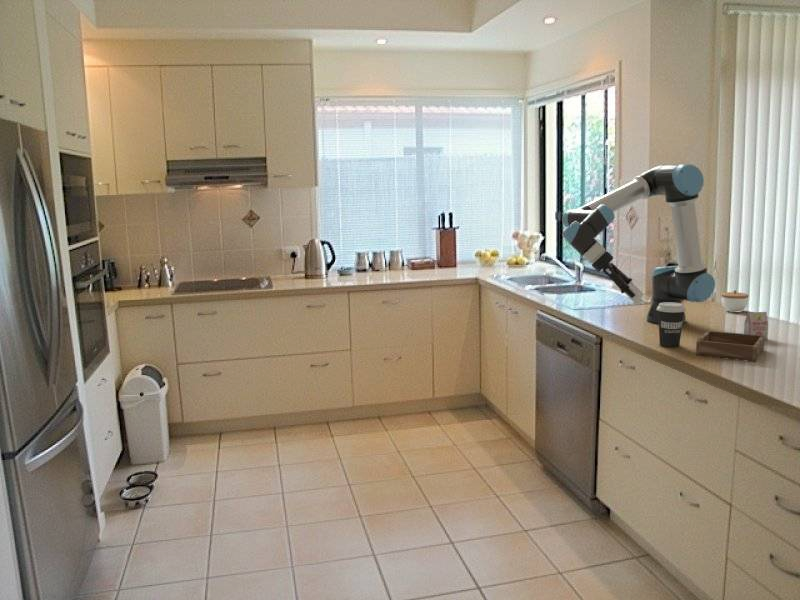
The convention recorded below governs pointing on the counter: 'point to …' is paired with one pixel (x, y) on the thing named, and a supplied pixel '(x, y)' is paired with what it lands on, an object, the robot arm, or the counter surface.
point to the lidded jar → (734, 301)
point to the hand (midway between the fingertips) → (641, 299)
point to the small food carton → (756, 324)
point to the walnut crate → (730, 345)
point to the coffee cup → (670, 323)
